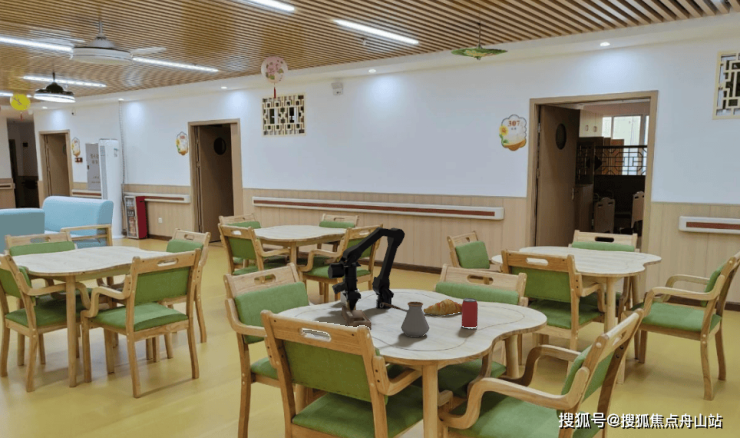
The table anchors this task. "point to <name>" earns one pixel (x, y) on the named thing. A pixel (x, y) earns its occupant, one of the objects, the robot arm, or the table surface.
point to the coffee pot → (413, 319)
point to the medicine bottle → (343, 298)
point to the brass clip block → (349, 306)
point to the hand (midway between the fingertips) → (350, 310)
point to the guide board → (355, 317)
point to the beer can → (469, 312)
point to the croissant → (444, 308)
